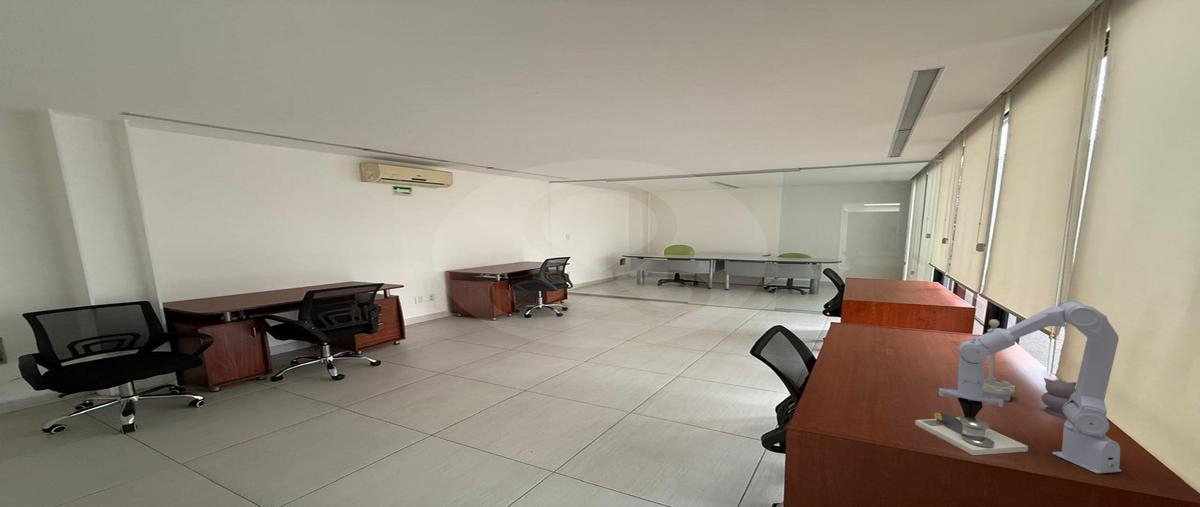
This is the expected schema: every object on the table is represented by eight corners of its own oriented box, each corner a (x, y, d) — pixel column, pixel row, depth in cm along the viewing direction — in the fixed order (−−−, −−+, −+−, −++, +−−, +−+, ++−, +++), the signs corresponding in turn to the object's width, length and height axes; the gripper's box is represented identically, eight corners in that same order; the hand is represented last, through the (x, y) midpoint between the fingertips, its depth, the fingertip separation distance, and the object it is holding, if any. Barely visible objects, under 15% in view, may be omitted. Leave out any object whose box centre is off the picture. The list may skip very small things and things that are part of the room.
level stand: (1027, 451, 113) (1028, 445, 113) (973, 455, 111) (973, 449, 111) (963, 421, 131) (963, 416, 131) (915, 424, 129) (915, 419, 129)
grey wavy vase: (1044, 415, 136) (1046, 381, 135) (1037, 407, 142) (1039, 374, 142) (1082, 422, 131) (1084, 387, 130) (1072, 413, 137) (1075, 379, 137)
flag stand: (978, 386, 161) (982, 314, 160) (1021, 399, 149) (1026, 321, 148) (959, 391, 157) (963, 317, 155) (1002, 404, 144) (1007, 324, 143)
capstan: (1001, 446, 112) (1002, 429, 112) (978, 447, 112) (979, 430, 112) (945, 419, 129) (946, 403, 129) (925, 420, 128) (926, 404, 128)
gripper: (1000, 381, 121) (997, 424, 121) (938, 371, 129) (936, 412, 130) (1006, 388, 115) (1003, 433, 116) (941, 378, 123) (939, 420, 124)
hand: (968, 423), depth 122 cm, fingers closed
